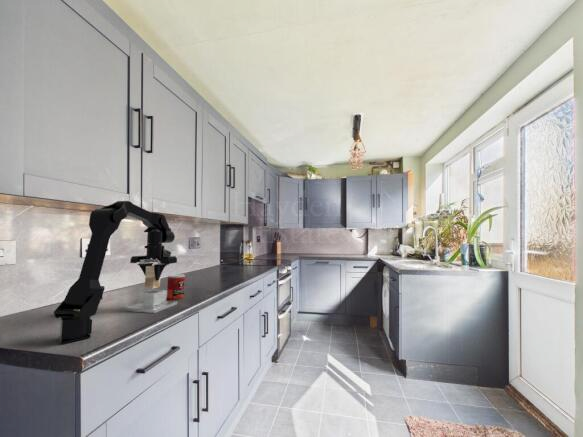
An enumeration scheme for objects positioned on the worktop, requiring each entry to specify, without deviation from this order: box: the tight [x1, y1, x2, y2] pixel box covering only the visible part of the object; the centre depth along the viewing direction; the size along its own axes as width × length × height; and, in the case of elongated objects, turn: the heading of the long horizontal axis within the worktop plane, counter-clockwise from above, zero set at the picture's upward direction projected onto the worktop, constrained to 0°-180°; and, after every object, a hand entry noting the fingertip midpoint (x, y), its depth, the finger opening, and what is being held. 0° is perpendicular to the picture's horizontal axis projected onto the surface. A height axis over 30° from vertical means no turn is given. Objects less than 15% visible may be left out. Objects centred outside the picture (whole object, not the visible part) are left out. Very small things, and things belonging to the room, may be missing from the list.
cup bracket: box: [123, 288, 178, 314], centre depth 109 cm, size 14×14×6 cm
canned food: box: [166, 273, 186, 301], centre depth 125 cm, size 8×8×11 cm
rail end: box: [144, 264, 161, 290], centre depth 109 cm, size 4×4×9 cm
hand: (152, 280), depth 109 cm, fingers closed on rail end, 4 cm apart
